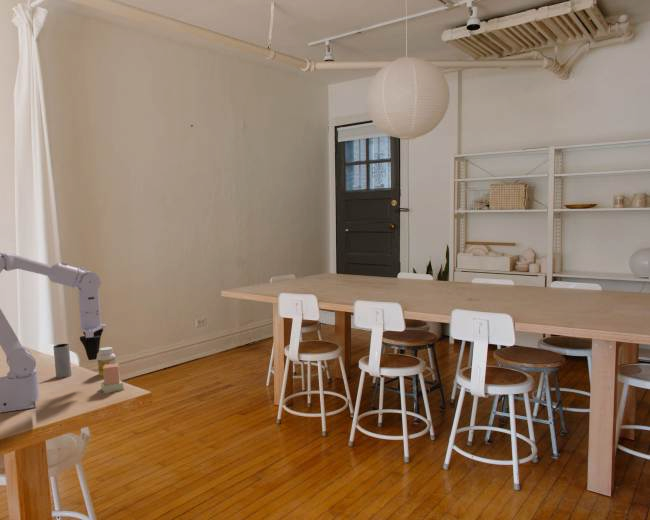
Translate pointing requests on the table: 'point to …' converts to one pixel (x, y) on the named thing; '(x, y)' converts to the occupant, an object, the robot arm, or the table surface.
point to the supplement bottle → (105, 358)
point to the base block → (111, 392)
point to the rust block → (111, 374)
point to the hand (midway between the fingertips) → (93, 356)
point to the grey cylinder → (62, 360)
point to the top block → (112, 387)
